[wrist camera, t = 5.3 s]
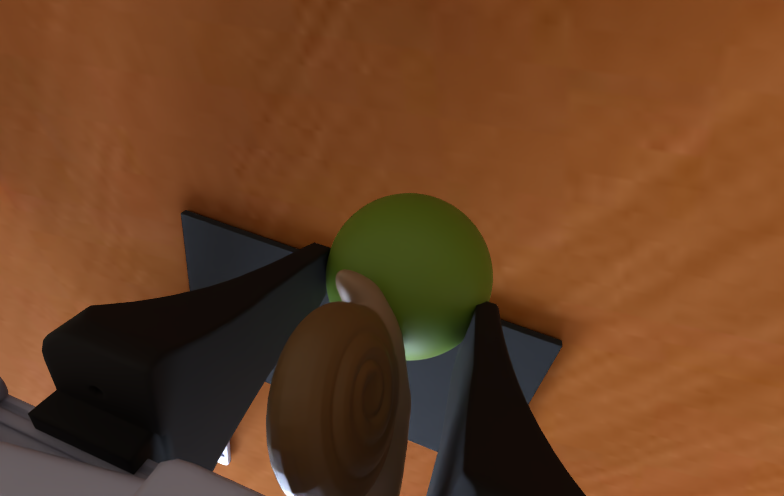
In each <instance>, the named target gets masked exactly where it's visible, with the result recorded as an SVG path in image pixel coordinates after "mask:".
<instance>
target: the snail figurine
mask: <svg viewBox="0 0 784 496" xmlns="http://www.w3.org/2000/svg"><path fill="white" fill-rule="evenodd" d="M492 283H493V270H492V263H491V258H490V254H489V251H488V248H487V245H486V243H485V241H484V239H483V237H482V235H481V233H480V232H479V230H478V229H477V227H476V226H475V225H474V224H473V222H472V221H471V220H470V219H469V218H468V217H467V216H466V215H465V214H464V213H462V212H461V211H460V210H459V209H457V208H456V207H454V206H453V205H451V204H449V203H447V202H445V201H443V200H441V199H438V198H435V197H432V196H429V195H424V194H416V193H402V194H394V195H390V196H386V197H383V198H380V199H377V200H375V201H373V202H371V203H369V204H367V205H365V206H364V207H362V208H361V209H360V210H358V211H357V212H356V213H355V214H353V215H352V216H351V217H350V218H349V219H348V220H347V221H346V223H345V224H344V225H343V226H342V228H341V229H340V231H339V232H338V234H337V236H336V237H335V239H334V241H333V244H332V246H331V249H330V252H329V256H328V260H327V265H326V288H327V294H328V298H329V302H330V303H327V304H324V305H322V306H320V307H318V308H316V309H315V310H313V311H312V312H311V313H310V314H308V315H307V316H306V317H305V318H304V319H303V320H302V321H301V322H300V323H299V324H298V326H297V327H296V328H295V330H294V331H293V333H292V334H291V335H290V337H289V339H288V340H287V342H286V344H285V346H284V348H283V350H282V352H281V354H280V357H279V359H278V362H277V365H276V368H275V371H274V374H273V377H272V382H271V386H270V391H269V396H268V404H267V415H266V432H267V446H268V451H269V457H270V462H271V465H272V468H273V471H274V473H275V476H276V479H277V481H278V483H279V485H280V486H281V488H282V489H283V491H284V492H285V494H286V495H287V496H399V494H400V489H401V484H402V478H403V471H404V464H405V457H406V450H407V441H408V430H409V422H410V413H411V394H410V386H409V381H408V375H407V367H406V360H422V359H427V358H432V357H435V356H438V355H440V354H443V353H445V352H447V351H449V350H451V349H452V348H454V347H456V346H457V345H458V344H460V343H461V342H462V341H463V339H464V337H465V335H466V332H467V330H468V327H469V325H470V322H471V319H472V317H473V314H474V311H475V308H476V305H479V304H482V303H484V302H486V301H488V302H489V300H490V296H491V292H492Z"/></svg>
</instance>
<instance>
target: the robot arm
mask: <svg viewBox="0 0 784 496" xmlns="http://www.w3.org/2000/svg"><path fill="white" fill-rule="evenodd" d="M330 249H331V248H329V247H326V246H323V245H320V244H317V243H315V242H314V243H312V244H310V245H308V246H306V247H304V248H302V249H300V250H298V251H296V252H294V253H291V254H289V255H287V256H285V257H283V258H281V259H279V260H277V261H275V262H273V263H270V264H268V265H266V266H264V267H261V268H259V269H256V270H254V271H251V272H249V273H247V274H244V275H242V276H239V277H236V278H234V279H231V280H228V281H225V282H222V283H219V284H215V285H212V286H209V287H205V288H201V289H197V290H193V291H189V292H185V293H180V294H176V295H172V296H166V297H161V298H155V299H149V300H142V301H135V302H126V303H116V304H105V305H93V306H89V307H88V308H86V309H85V310H83V311H82V312H80V313H79V314H77V315H76V316H74V317H73V318H72V319H70V320H69V321H67V322H66V323H64V324H63V325H61V326H60V327H58V328H57V329H55V330H54V331H53V332H51V333H50V334H48V335H47V336H46V337H45V339H44V340H43V346H42V353H43V356H44V360H45V362H46V365H47V367H48V369H49V372H50V374H51V377H52V379H53V382H54V384H55V386H56V389H57V390H56V391H55V392H54V393H52V394H51V395H50V396H49V397H47V398H46V399H45V400H44V401H42V402H41V403H40V404H39V405H38V406H36V407H35V406H33V405H30V404H28V403H26V402H24V401H22V400H19V399H17V398H15V397H13V396H11V395H9V394H8V389H7V387H6V385H5V383H4V381H3V380H2V379H1V377H0V496H265V495H263V494H260V493H258V492H256V491H254V490H251V489H249V488H247V487H245V486H243V485H240V484H238V483H236V482H234V481H232V480H229V479H227V478H225V477H223V476H221V475H218V474H216V473H214V472H213V470H214V468H215V466H216V464H217V462H219V463H221V464H223V465H228V464H229V463H230V461H231V453H230V439H231V437H232V435H233V434H234V432H235V430H236V428H237V427H238V425H239V423H240V422H241V420H242V418H243V416H244V415H245V413H246V411H247V410H248V408H249V406H250V405H251V403H252V401H253V400H254V398H255V396H256V395H257V393H258V392H259V390H260V388H261V387H262V385H263V384H264V382H265V380H266V379H267V377H268V376H269V374H270V373H271V372H272V370H273V369H274V367H275V366H276V365H277V362H278V359H279V357H280V354H281V352H282V350H283V348H284V346H285V344H286V342H287V340H288V339H289V337H290V335H291V334H292V333H293V331H294V330H295V328H296V327H297V326H298V324H299V323H300V322H301V321H302V320H303V319H304V318H305V317H306V316H307V315H308V314H310V313H311V312H312V311H313V310H315V309H316V308H318V307H319V306H320V304H321V302H322V301H323V299H324V297H325V295H326V265H327V260H328V256H329V252H330ZM426 496H586V495H585V494H584V493H583V491H582V490H581V489H580V488H579V486H578V485H577V484H576V482H575V481H574V480H573V478H572V477H571V476H570V474H569V473H568V472H567V470H566V469H565V467H564V466H563V464H562V463H561V461H560V460H559V458H558V457H557V455H556V454H555V452H554V451H553V449H552V447H551V446H550V444H549V442H548V441H547V439H546V437H545V436H544V434H543V432H542V431H541V429H540V427H539V425H538V423H537V421H536V419H535V417H534V416H533V414H532V412H531V410H530V408H529V405H528V403H527V401H526V399H525V397H524V394H523V392H522V390H521V387H520V385H519V382H518V380H517V377H516V374H515V372H514V369H513V366H512V363H511V360H510V356H509V353H508V350H507V346H506V343H505V339H504V335H503V330H502V326H501V321H500V314H499V308H498V306H497V304H494V303H491V302H488V301H486V302H484V303H482V304H479V305H476V308H475V311H474V314H473V317H472V319H471V322H470V325H469V327H468V330H467V332H466V335H465V337H464V339H463V341H462V342H461V343H460V345H459V349H458V352H457V356H456V359H455V363H454V366H453V370H452V375H451V381H450V387H449V393H448V399H447V406H446V412H445V418H444V424H443V430H442V436H441V441H440V446H439V450H438V454H437V458H436V462H435V465H434V469H433V473H432V477H431V480H430V484H429V488H428V492H427V495H426Z"/></svg>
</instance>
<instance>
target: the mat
mask: <svg viewBox="0 0 784 496" xmlns="http://www.w3.org/2000/svg"><path fill="white" fill-rule="evenodd" d="M181 219H182V227H183V236H184V244H185V253H186V262H187V270H188V279H189V287H190V291H193V290H197V289H201V288H205V287H209V286H212V285H215V284H219V283H222V282H225V281H228V280H231V279H234V278H236V277H239V276H242V275H244V274H247V273H249V272H251V271H254V270H256V269H259V268H261V267H264V266H266V265H268V264H270V263H273V262H275V261H277V260H279V259H281V258H283V257H285V256H287V255H289V254H291V253H294V252H296V251H298V250H299V249H296V248H293V247H291V246H288V245H285V244H282V243H279V242H276V241H273V240H270V239H268V238H265V237H262V236H259V235H256V234H253V233H250V232H247V231H244V230H242V229H239V228H236V227H233V226H230V225H227V224H224V223H221V222H219V221H216V220H213V219H210V218H207V217H204V216H201V215H198V214H195V213H193V212H190V211H187V210H185V211H183V212H182V213H181ZM327 303H330V302H329V298H328V294H327V288H326V295H325V297H324V299H323V301H322V302H321V304H320V306H322V305H324V304H327ZM320 306H319V307H320ZM500 321H501V326H502V330H503V335H504V339H505V343H506V346H507V350H508V353H509V356H510V360H511V363H512V366H513V369H514V372H515V374H516V377H517V380H518V382H519V385H520V387H521V390H522V392H523V394H524V397H525V399H526V401H527V403H528V404H529V402H530V401H531V399H532V397H533V396H534V394H535V392H536V390H537V389H538V387H539V385H540V384H541V382H542V380H543V378H544V377H545V375H546V373H547V372H548V370H549V368H550V366H551V365H552V363H553V361H554V360H555V358H556V356H557V354H558V353H559V351H560V349H561V348H562V341H561V340H559V339H556V338H553V337H550V336H547V335H544V334H541V333H538V332H536V331H533V330H530V329H527V328H524V327H521V326H518V325H515V324H512V323H510V322H507V321H504V320H501V319H500ZM459 345H460V344H458V345H457V346H456V347H454V348H452V349H451V350H449V351H447V352H445V353H443V354H440V355H438V356H435V357H432V358H427V359H422V360H406V367H407V375H408V381H409V386H410V394H411V413H410V422H409V430H408V440H410V441H412V442H414V443H417V444H419V445H422V446H424V447H427V448H429V449H432V450H434V451H437V452H438V450H439V446H440V441H441V436H442V430H443V424H444V418H445V412H446V406H447V399H448V393H449V387H450V381H451V375H452V370H453V366H454V363H455V359H456V356H457V352H458V349H459ZM275 368H276V366H275V367H274V369H273V370H272V372H271V373H270V374H269V376H268V377H267V379H266V380H265V382H267V383H270V384H271V382H272V377H273V374H274V371H275Z"/></svg>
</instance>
